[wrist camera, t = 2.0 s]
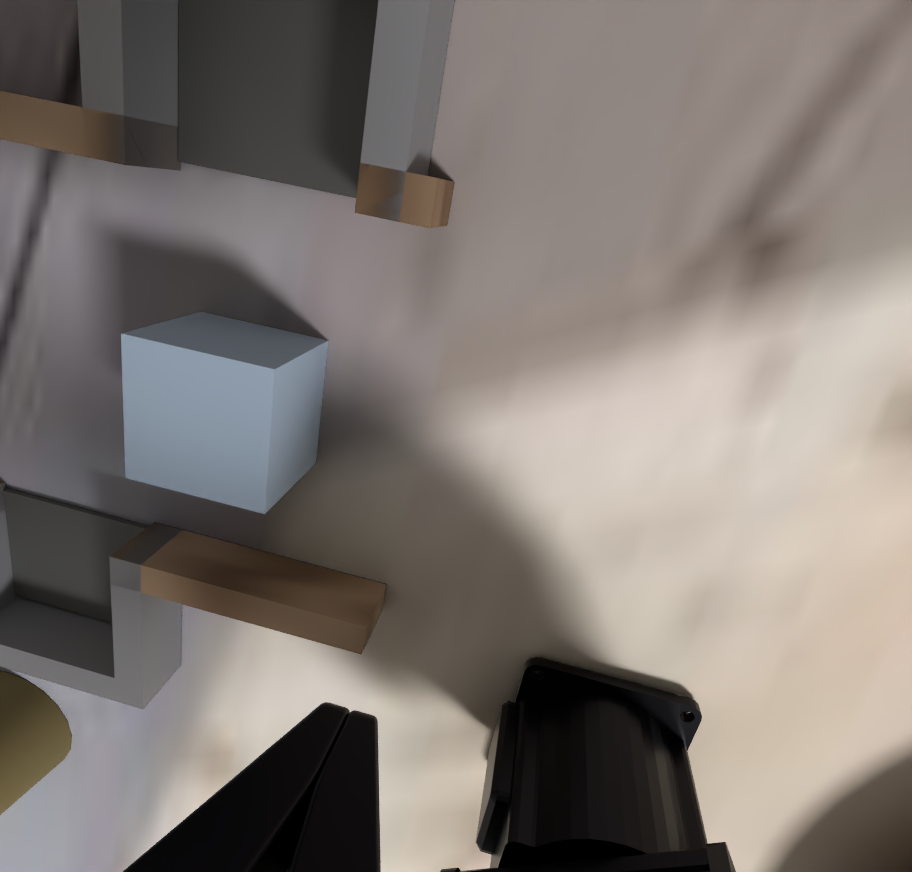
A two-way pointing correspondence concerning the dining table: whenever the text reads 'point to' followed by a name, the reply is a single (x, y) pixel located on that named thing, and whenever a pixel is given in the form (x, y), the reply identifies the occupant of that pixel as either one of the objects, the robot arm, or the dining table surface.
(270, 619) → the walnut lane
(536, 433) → the dining table surface
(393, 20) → the trap pockets
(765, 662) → the dining table surface
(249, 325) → the slate block
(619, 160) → the dining table surface
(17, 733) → the cork
